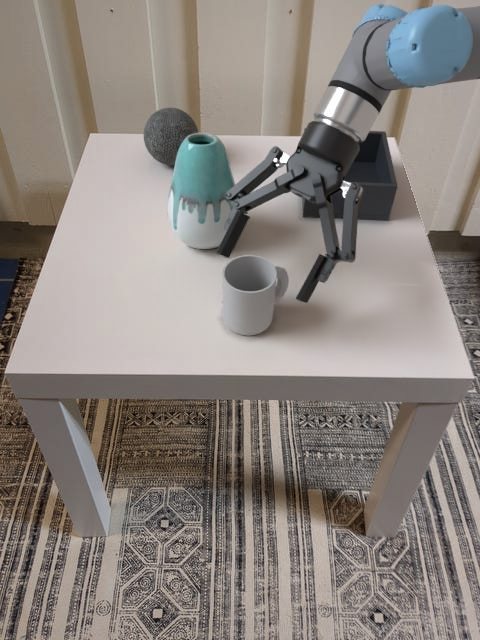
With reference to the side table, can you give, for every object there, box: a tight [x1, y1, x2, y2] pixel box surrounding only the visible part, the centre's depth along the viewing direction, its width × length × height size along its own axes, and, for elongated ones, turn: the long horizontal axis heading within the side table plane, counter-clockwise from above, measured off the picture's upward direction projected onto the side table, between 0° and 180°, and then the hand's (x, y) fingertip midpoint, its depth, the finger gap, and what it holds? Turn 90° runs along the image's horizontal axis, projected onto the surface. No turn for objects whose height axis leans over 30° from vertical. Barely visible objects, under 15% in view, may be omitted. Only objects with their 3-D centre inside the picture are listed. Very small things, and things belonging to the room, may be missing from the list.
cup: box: [221, 254, 290, 336], centre depth 78 cm, size 7×10×9 cm
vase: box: [166, 132, 236, 250], centre depth 86 cm, size 12×12×18 cm
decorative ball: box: [143, 107, 199, 166], centre depth 103 cm, size 10×10×10 cm
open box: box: [301, 127, 398, 222], centre depth 99 cm, size 17×15×7 cm
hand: (260, 277), depth 77 cm, fingers open, 13 cm apart
